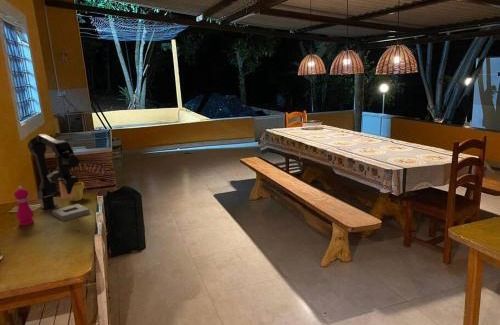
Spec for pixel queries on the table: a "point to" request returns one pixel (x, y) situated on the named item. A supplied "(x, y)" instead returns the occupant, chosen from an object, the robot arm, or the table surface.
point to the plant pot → (78, 191)
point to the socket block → (70, 212)
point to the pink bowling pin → (23, 207)
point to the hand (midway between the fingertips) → (67, 193)
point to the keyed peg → (65, 191)
